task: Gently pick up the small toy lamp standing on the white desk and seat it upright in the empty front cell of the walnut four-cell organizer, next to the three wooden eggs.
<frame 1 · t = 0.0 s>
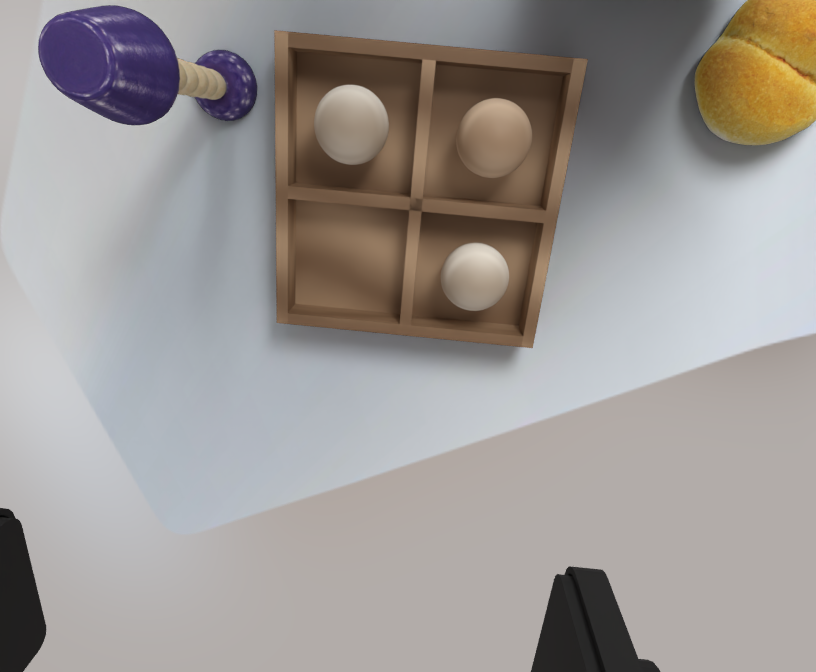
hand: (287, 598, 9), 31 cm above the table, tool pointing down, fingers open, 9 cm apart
egg c: (472, 268, 38), point 1 cm above the table, touching organizer
egg b: (490, 138, 35), point 1 cm above the table, touching organizer
toy lamp: (232, 87, 35), on the table
bread roll: (761, 68, 33), on the table
organizer: (417, 198, 37), on the table
egg a: (356, 125, 35), point 1 cm above the table, touching organizer
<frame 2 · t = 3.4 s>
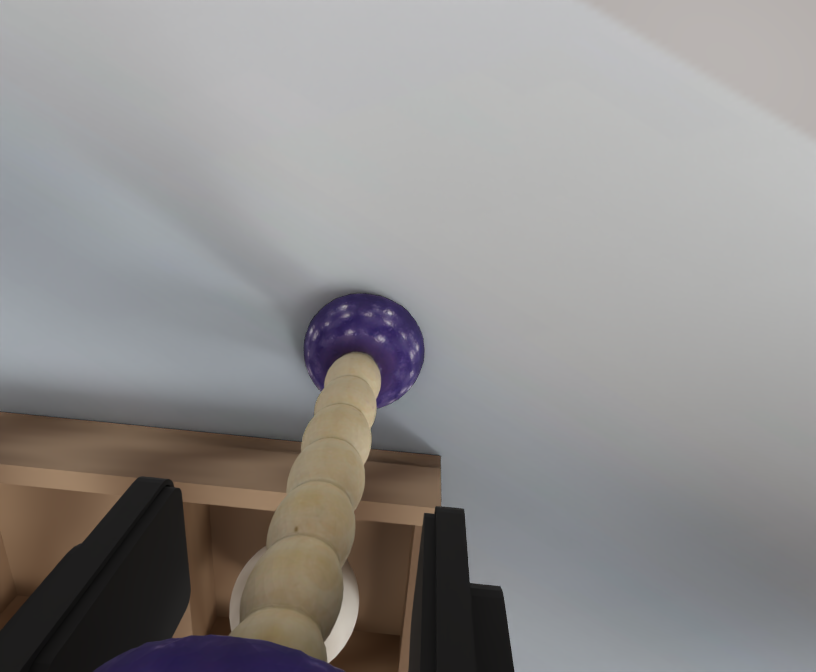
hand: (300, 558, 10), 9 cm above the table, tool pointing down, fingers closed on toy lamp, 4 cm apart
toy lamp: (363, 355, 19), on the table, touching gripper
organizer: (215, 606, 24), on the table
egg a: (309, 554, 21), point 1 cm above the table, touching organizer
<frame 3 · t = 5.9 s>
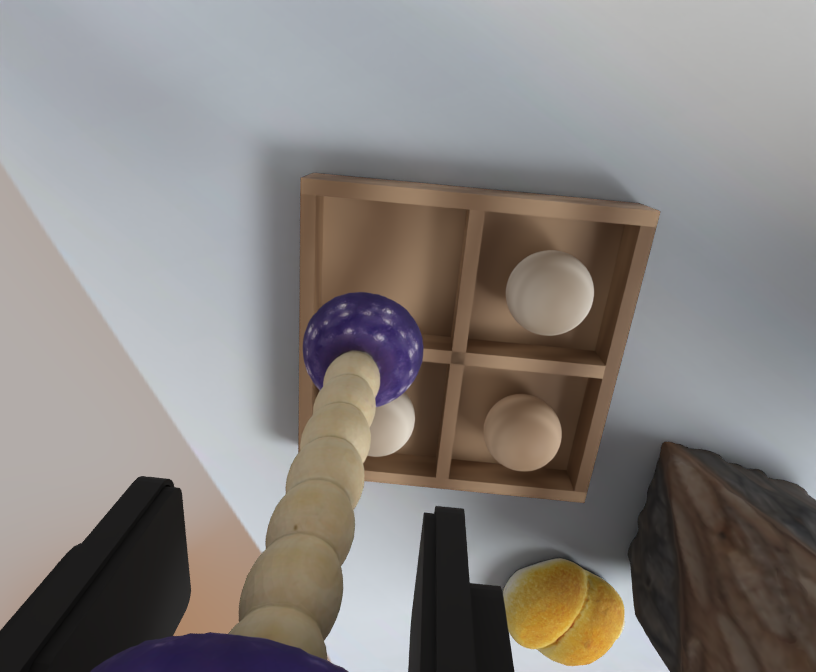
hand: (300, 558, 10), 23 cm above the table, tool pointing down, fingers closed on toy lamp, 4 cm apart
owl: (705, 506, 37), on the table
egg c: (380, 399, 34), point 1 cm above the table, touching organizer
egg b: (516, 412, 34), point 1 cm above the table, touching organizer
toy lamp: (362, 354, 19), point 13 cm above the table, touching gripper
bread roll: (557, 594, 41), on the table
organizer: (456, 338, 33), on the table
egg a: (541, 281, 31), point 1 cm above the table, touching organizer
when the fingers open (11 cm above the table, at t = 8.7 s): toy lamp stays where it is, resting on organizer.
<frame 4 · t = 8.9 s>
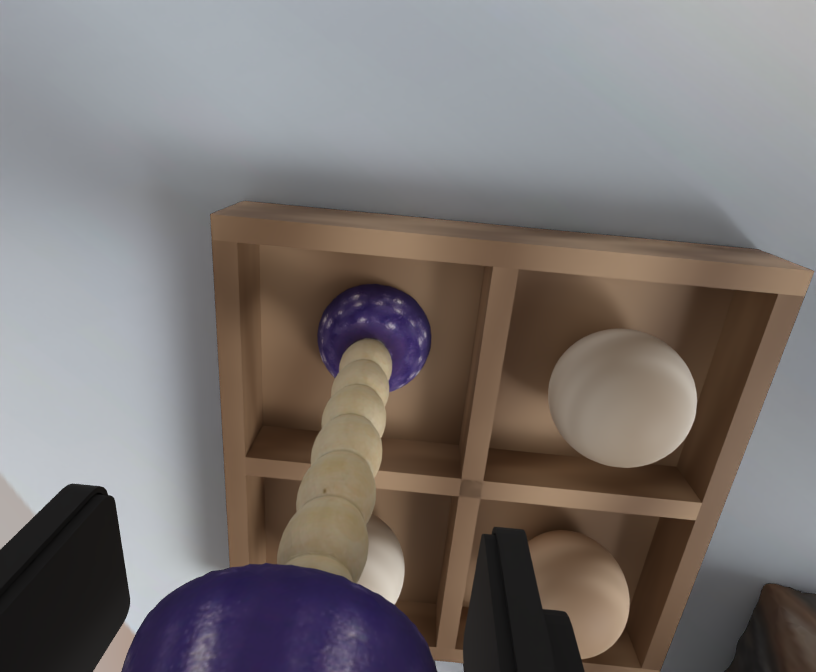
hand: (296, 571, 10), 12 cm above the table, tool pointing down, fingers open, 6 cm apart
egg c: (355, 528, 23), point 1 cm above the table, touching organizer
egg b: (554, 548, 23), point 1 cm above the table, touching organizer
toy lamp: (373, 343, 20), point 1 cm above the table, touching organizer
organizer: (466, 443, 22), on the table
egg a: (599, 367, 20), point 1 cm above the table, touching organizer
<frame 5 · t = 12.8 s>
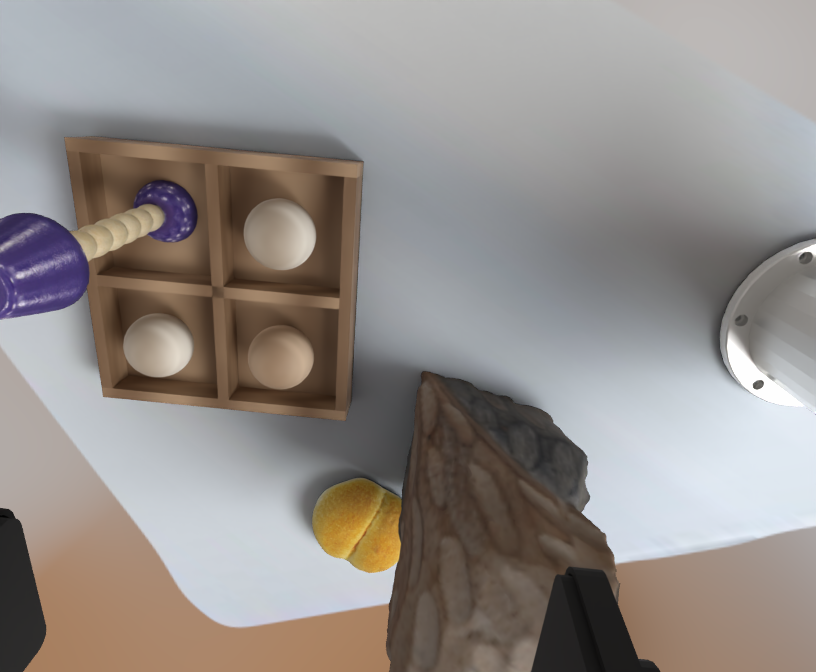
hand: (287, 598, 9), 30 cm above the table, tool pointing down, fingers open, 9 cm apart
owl: (469, 431, 43), on the table
egg c: (174, 333, 40), point 1 cm above the table, touching organizer
egg b: (289, 344, 40), point 1 cm above the table, touching organizer
toy lamp: (169, 215, 37), point 1 cm above the table, touching organizer
bread roll: (367, 513, 47), on the table
organizer: (233, 280, 39), on the table
egg a: (289, 228, 37), point 1 cm above the table, touching organizer
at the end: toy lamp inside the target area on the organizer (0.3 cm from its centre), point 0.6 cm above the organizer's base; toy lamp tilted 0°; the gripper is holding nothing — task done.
